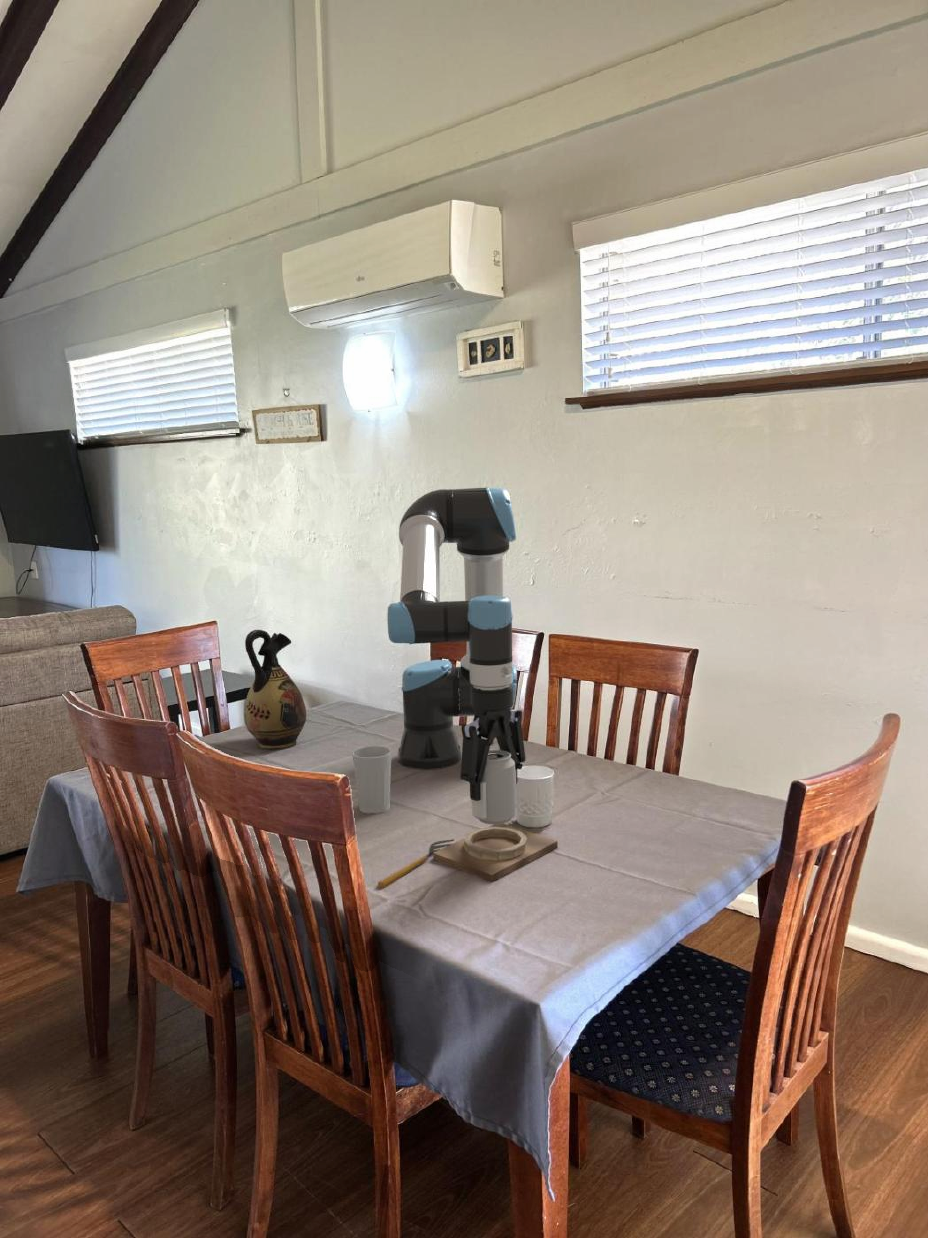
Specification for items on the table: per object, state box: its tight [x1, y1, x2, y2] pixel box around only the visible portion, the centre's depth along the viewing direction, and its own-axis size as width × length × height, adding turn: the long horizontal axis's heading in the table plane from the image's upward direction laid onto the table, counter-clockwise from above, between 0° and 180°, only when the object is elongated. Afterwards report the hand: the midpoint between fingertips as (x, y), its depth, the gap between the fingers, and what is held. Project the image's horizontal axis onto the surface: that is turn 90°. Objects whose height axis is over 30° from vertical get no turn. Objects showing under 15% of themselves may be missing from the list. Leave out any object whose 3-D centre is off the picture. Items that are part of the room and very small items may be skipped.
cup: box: [351, 745, 392, 814], centre depth 189 cm, size 8×8×12 cm
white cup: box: [516, 765, 555, 828], centre depth 180 cm, size 8×8×10 cm
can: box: [474, 749, 517, 825], centre depth 164 cm, size 8×8×12 cm
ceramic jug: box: [243, 629, 307, 749], centre depth 233 cm, size 17×15×30 cm
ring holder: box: [432, 823, 559, 882], centre depth 166 cm, size 18×14×3 cm
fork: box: [377, 839, 455, 889], centre depth 162 cm, size 2×2×20 cm
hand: (494, 809), depth 165 cm, fingers closed on can, 7 cm apart
